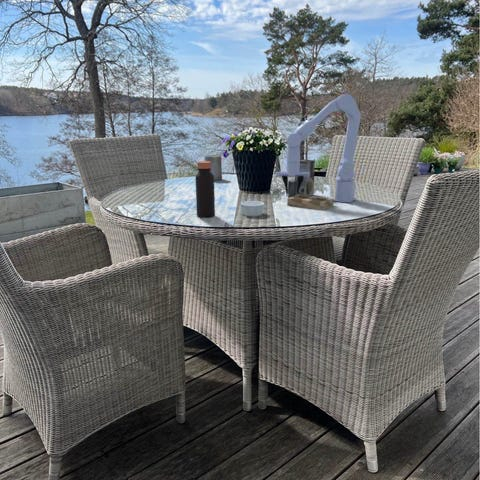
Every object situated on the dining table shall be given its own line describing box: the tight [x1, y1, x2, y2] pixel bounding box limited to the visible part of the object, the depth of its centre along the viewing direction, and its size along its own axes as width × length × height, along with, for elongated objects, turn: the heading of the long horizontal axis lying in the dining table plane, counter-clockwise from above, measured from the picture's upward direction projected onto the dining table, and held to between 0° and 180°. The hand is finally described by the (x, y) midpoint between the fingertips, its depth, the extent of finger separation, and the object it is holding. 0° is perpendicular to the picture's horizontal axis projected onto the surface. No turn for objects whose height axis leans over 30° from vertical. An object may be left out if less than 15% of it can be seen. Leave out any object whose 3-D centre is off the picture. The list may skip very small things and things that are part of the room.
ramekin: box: [240, 200, 265, 217], centre depth 160 cm, size 9×9×4 cm
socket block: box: [286, 195, 334, 211], centre depth 174 cm, size 10×16×3 cm, turn 56°
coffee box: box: [294, 158, 316, 196], centre depth 194 cm, size 9×6×16 cm
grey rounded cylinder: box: [287, 179, 297, 199], centre depth 185 cm, size 4×4×9 cm
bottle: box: [195, 160, 216, 219], centre depth 155 cm, size 7×7×20 cm
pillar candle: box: [204, 154, 223, 182], centre depth 243 cm, size 10×10×15 cm
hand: (292, 193), depth 186 cm, fingers open, 4 cm apart
